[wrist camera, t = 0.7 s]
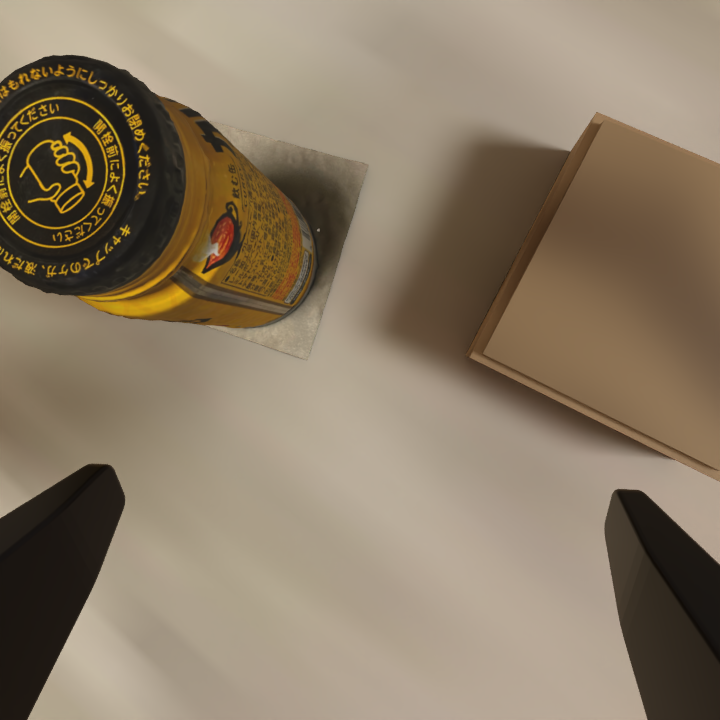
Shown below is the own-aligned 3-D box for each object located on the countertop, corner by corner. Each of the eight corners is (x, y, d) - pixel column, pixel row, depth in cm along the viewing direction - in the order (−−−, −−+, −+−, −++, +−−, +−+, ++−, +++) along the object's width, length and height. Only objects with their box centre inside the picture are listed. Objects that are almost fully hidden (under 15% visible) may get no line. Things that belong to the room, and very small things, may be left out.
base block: (676, 460, 21) (730, 486, 17) (465, 355, 22) (470, 357, 18) (795, 248, 20) (881, 225, 16) (570, 151, 21) (600, 106, 17)
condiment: (156, 308, 24) (-117, 273, 12) (211, 122, 24) (-21, -104, 12) (308, 360, 23) (170, 374, 11) (370, 167, 23) (291, -30, 11)
